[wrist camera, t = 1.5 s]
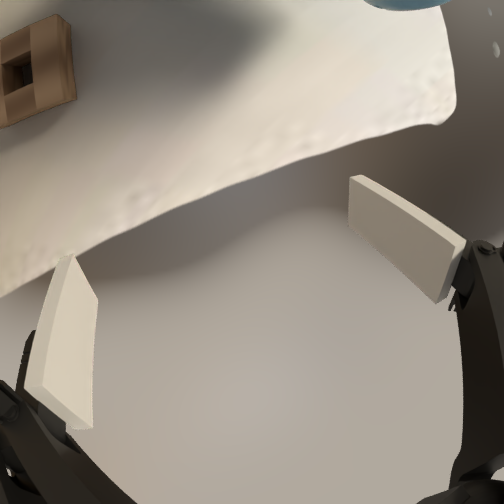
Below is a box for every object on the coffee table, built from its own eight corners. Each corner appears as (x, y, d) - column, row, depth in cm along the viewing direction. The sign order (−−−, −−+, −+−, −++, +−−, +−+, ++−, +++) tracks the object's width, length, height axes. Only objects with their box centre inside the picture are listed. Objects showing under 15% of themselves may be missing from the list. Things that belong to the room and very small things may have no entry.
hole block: (1, 55, 18) (-22, 52, 13) (70, 25, 20) (56, 13, 15) (8, 126, 23) (-13, 133, 18) (76, 99, 25) (63, 100, 21)
